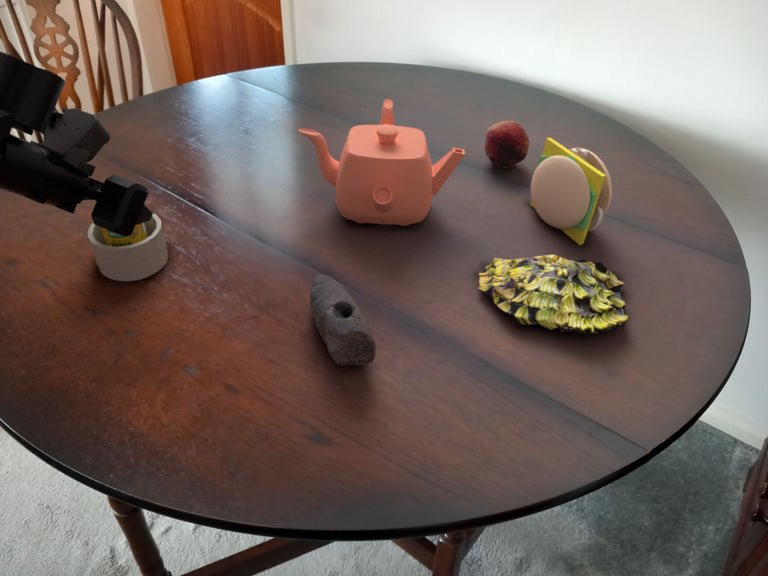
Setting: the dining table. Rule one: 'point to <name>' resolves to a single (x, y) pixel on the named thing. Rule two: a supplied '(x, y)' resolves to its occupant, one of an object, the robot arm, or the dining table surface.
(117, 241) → the supplement bottle
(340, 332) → the perforated stone tool
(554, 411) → the dining table surface
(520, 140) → the fruit
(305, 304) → the dining table surface
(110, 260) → the beige cup
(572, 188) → the hamburger
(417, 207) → the teapot
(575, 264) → the scaly yellow mound
